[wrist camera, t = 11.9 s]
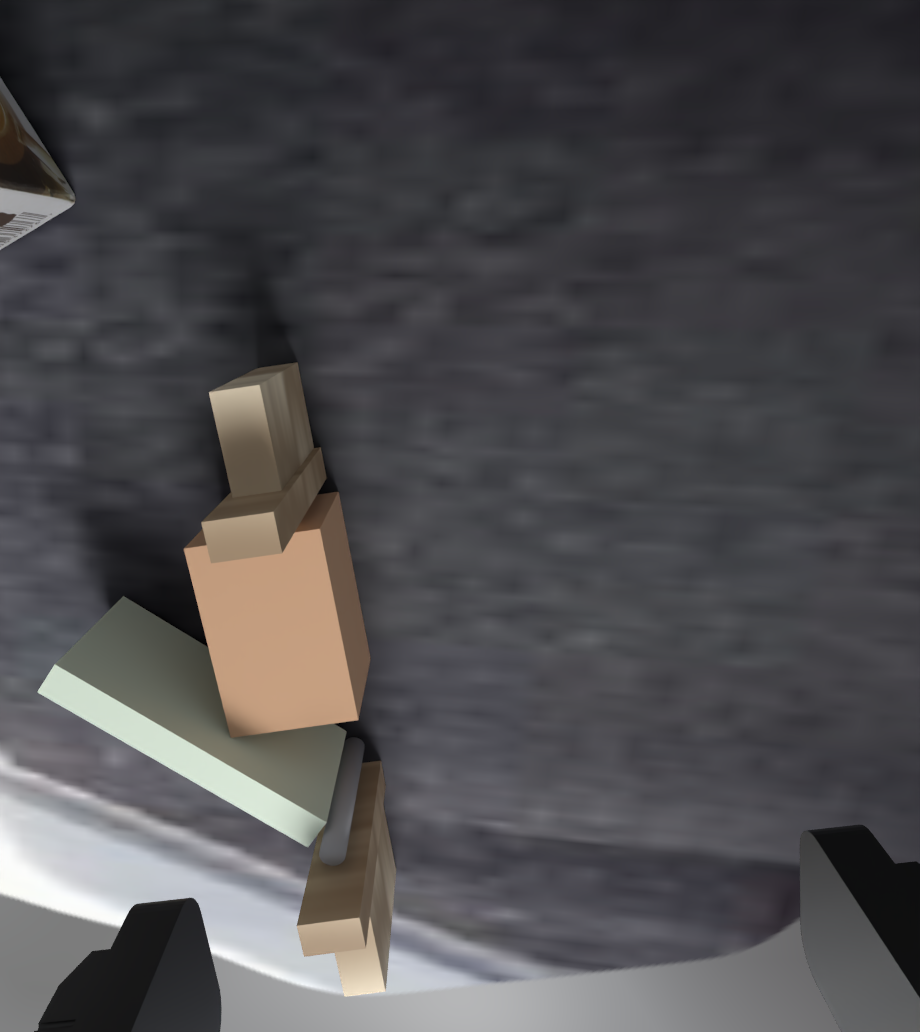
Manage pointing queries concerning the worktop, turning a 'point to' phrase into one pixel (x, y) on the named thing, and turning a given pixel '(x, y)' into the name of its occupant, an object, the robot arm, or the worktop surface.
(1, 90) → the coffee box
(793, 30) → the worktop surface
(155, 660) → the door
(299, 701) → the rectangular block
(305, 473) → the door frame
